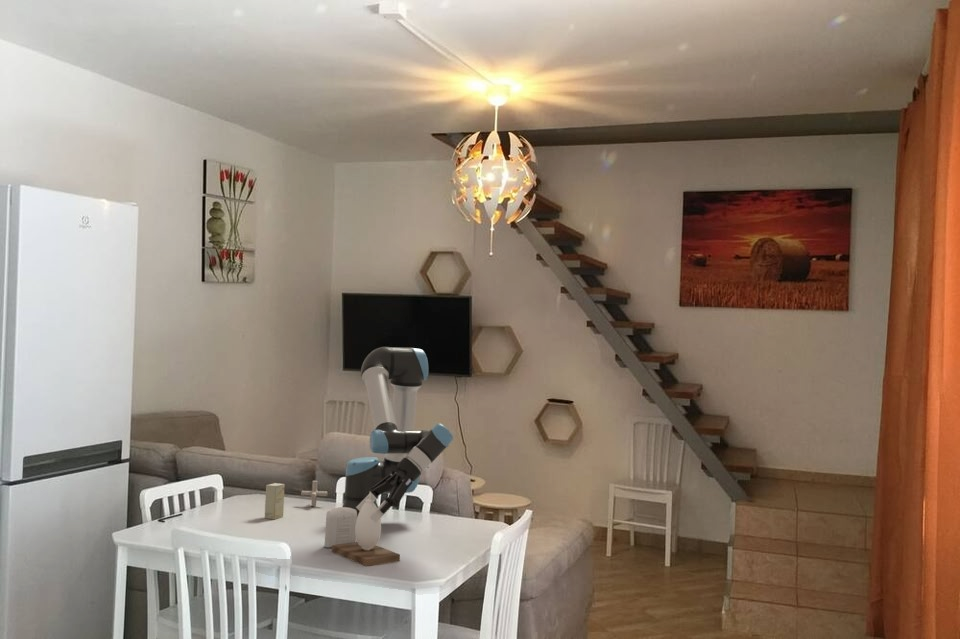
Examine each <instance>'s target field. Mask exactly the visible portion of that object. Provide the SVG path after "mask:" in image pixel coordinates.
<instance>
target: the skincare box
mask: <svg viewBox="0 0 960 639" xmlns="http://www.w3.org/2000/svg"><path fill="white" fill-rule="evenodd" d="M285 486H286V485H285V483H280V482H279V483H277V482H274V483H269V484H266V485H265V500H264V502H265V503H264V519H268V520H277V519H280V518H283V517H284V511H285V510H284V508H285V506H284V505H285Z"/></svg>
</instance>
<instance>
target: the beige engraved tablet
mask: <svg viewBox="0 0 960 639" xmlns="http://www.w3.org/2000/svg"><path fill="white" fill-rule="evenodd" d="M325 515H326V517H325V531H324V548H329V549H330V548H332V545H337V544H345V543H352V542H357V540H356V535H355V527H356V521H357V511H356V510H355V509H352V508H347V507H342V506H341V507H334V508H331V509H328V510H327V511H326V514H325Z"/></svg>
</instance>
